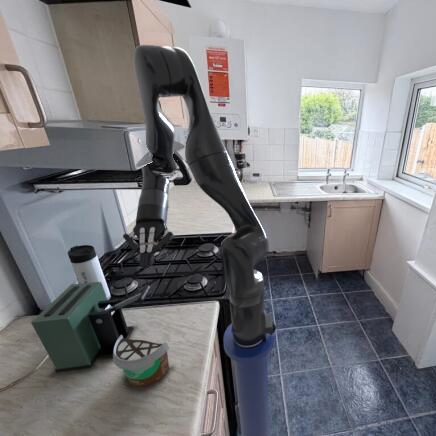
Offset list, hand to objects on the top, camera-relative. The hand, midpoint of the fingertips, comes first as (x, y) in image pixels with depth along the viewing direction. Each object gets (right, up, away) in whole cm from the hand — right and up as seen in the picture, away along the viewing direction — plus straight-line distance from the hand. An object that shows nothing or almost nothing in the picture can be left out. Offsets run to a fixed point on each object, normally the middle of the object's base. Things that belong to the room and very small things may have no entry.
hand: (145, 267), depth 61 cm
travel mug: (-27, -15, +18) cm, 35 cm away
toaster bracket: (-10, -21, +3) cm, 24 cm away
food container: (+3, -26, -6) cm, 26 cm away
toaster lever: (-4, -10, -1) cm, 11 cm away
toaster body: (-16, -22, +2) cm, 27 cm away
